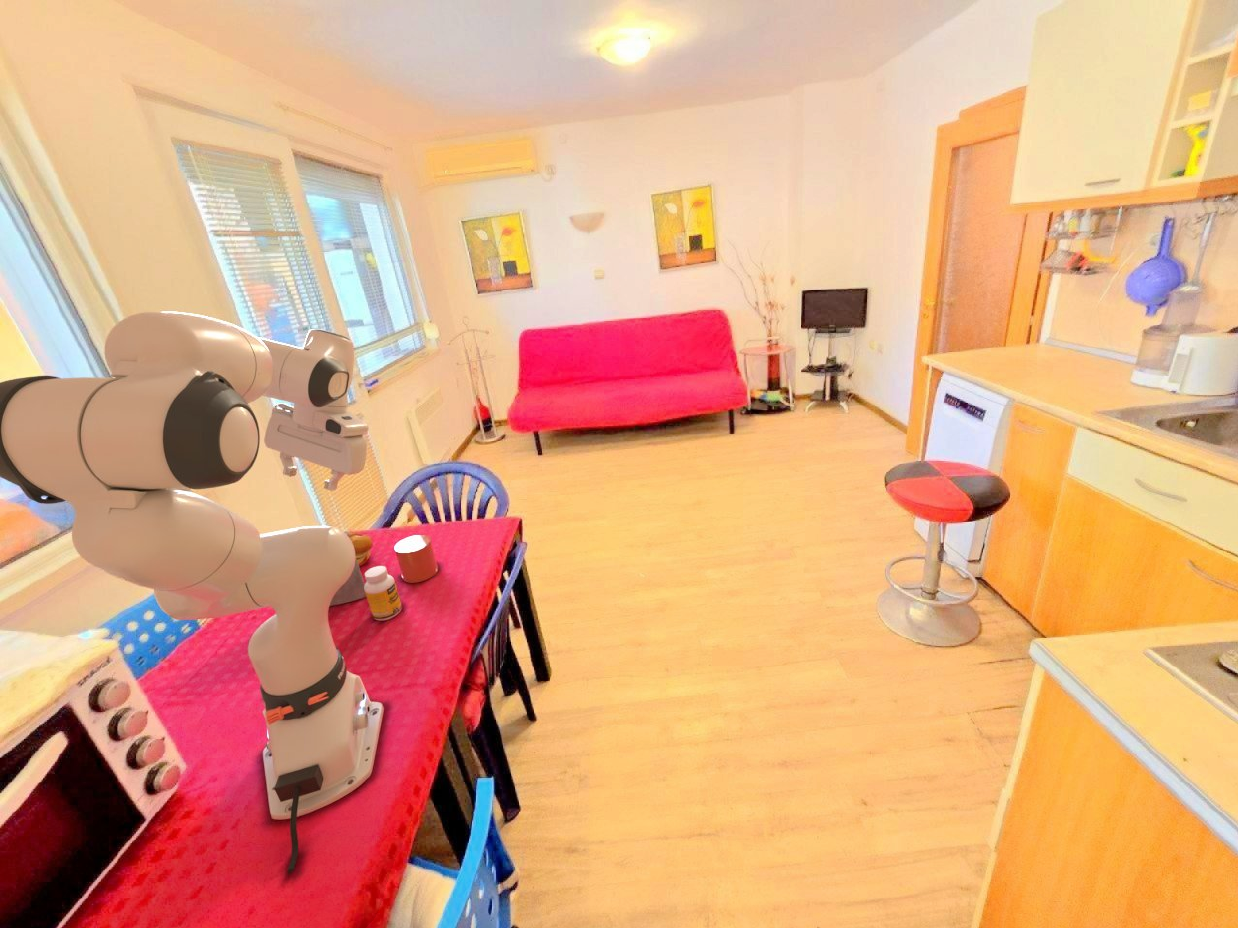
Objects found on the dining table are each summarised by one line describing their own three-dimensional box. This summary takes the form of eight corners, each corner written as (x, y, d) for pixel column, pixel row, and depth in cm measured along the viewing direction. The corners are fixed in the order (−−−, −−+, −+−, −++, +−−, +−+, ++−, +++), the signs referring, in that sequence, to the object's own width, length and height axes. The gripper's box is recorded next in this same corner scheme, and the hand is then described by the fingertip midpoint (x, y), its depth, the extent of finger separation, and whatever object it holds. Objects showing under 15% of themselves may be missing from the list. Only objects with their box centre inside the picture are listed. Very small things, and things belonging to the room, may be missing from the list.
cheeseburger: (330, 560, 145) (329, 528, 142) (371, 557, 150) (371, 525, 147) (329, 577, 136) (329, 542, 134) (373, 572, 141) (374, 539, 139)
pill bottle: (391, 622, 116) (378, 580, 112) (367, 620, 118) (353, 578, 113) (408, 605, 122) (396, 564, 118) (384, 603, 123) (372, 562, 119)
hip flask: (368, 590, 129) (347, 521, 122) (365, 599, 125) (342, 529, 118) (301, 603, 126) (275, 533, 119) (295, 612, 123) (268, 541, 115)
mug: (440, 575, 133) (433, 545, 130) (403, 586, 129) (395, 556, 126) (434, 555, 143) (427, 527, 140) (400, 566, 139) (392, 537, 136)
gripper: (260, 401, 96) (251, 469, 99) (353, 431, 93) (342, 500, 96) (287, 400, 102) (278, 464, 105) (376, 428, 99) (364, 494, 102)
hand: (309, 482), depth 100 cm, fingers open, 8 cm apart
